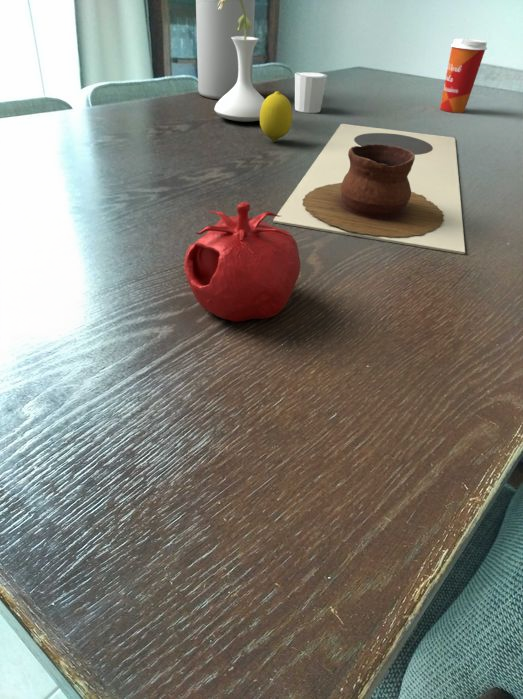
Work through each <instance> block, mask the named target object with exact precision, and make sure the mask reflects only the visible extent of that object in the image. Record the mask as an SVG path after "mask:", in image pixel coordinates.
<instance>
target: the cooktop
mask: <svg viewBox="0 0 523 699" xmlns="http://www.w3.org/2000/svg"><path fill="white" fill-rule="evenodd" d="M366 144H369V145H374V144H378V145H388V146H392V147H393V146H399V147H401V148H403V149H408V150H409V151H411V152H412V153H413V154H414V155H415V159H414V163H413V165H412V168H411V171H410V172H409V174H408V176H407V177H408V181H409V184H410V188H411V192H414V193H416V194H419V195H423V196H424V197H426V200H427V201H431V202H432V203H434V205H436V206H437V207H438V208H439V209H440V210H441V211H443V213H442V214H443V215H444V216H443V219H444V221H443V222H442V224H441V225H440V226H439V227H437V228H435V229H434V230H431V231H428V232H425V234H424V235H412V236H407V237H401V236H400V237H393V236H392V237H388V236H383V235H370V234H365V233H363V234H360V233H357V232H352V231H347V230H344V229H342V228H339V227H337V226H334V225H328V224H327V223H326V222H324V221H322V220H321V219H318V218H316V216H312V215H311V213H310V212H309V210H305V208H306V206H305V205H303V199H304V198H305V195H306V194H308V193H309V192H311V191H313V190H314V189H315V188H318V187H322V186H325V185H328V184H331V185H332V184H337V183H342V182H343V179H344V177H345V175H346V174H347V173H348V171H349V168H350V160H349V156H348V151H349V149H350V148H351V147H355V146H360V147H361V146H364V145H366ZM459 179H460V178H459V167H458V156H457V145H456V137H454V136H452V137H451V136H443V135H435V134H429V133H428V134H427V133H422V132H421V133H419V132H412V131H403V130H396V129H387V128H379V127H373V126H363V125H354V124H347V123H340V125H339V126H338V128H337V129H336V130H335V132H334V133H333V135H332V136H331V137H330V139H329V140H328V141H327V143H326V145H325V146H324V147H323V149H321V151H320V153H319V155H318V156H317V157H316V159H315V160H314V161H313V163H312V165H310V167H309V169H308V170H307V172H306V173H305V175H304V176H303V177H302V179H301V180H300V181H299V183H298V184H297V186H296V187H295V189H294V190H293V191H292V193H291V194H290V195H289V197H288V198H287V200H286V201H285V203H284V204H283V205H282V206H281V208H280V210H279V211H278V212H277V214H276V215H279V216H280V217H278V216H274V218H273V220H272V223H274V224H278V225H285V226H289V227H290V226H291V227H297V228H302V229H308V230H314V231H315V230H316V231H321V232H325V233H326V232H327V233H334V234H338V235H345V236H349V237H350V236H351V237H357V238H363V239H368V240H369V239H370V240H376V241H381V242H387V243H393V244H399V245H405V246H411V247H417V248H423V249H430V250H434V251H435V250H436V251H441V252H447V253H454V254H458V255H465V254H466V246H465V236H464V234H465V233H464V223H463V213H462V212H463V211H462V201H461V190H460V189H461V188H460V180H459Z"/></svg>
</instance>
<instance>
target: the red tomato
mask: <svg viewBox="0 0 523 699" xmlns="http://www.w3.org/2000/svg"><path fill="white" fill-rule="evenodd" d="M250 210H251V205H250V203H249V201H243V202H240V203H238V204H237V206H236V212H237V214H238V215H233V216H228V215H227V214H225V212H223V211H217V210H215V211H211V210H209V211H208V213H210V214H217V216H219V217H220V218H221V219H220V220H218V222H217V223H216V224H214V225H211V224H210V225H207V226H205V227H204V228H203V229H202V230H200V231H198V232H195V234H197V235H199V236H200V235H202V234H204V233H205V234H204V235H202V236H201V237H199V238H198V239H196V241H195V242H194V243H192V244H191V245H189V246H188V248H187V249H186V252H185V256H184V260H183V261H184V262H183V269H184V274H185V277H186V282H187V283H188V285H189V288H190V290H191V292H192V294H193V296H194V297H195V299H196V301H197V303H198V304H199V305H200V306H201V307H202V308H203V309H204V310H205V311H206V312H208V313H210V314H212V315H214V316H216V317H218V318H220V319H223V320H228V321H231V322H235V323H236V322H246V321H249V320H254V319H259V320H260V319H261V320H264V319H270V318H272V317H274V316H276V315H278V314H279V313H280V312H281V311H282V310H283V309H284V308H285V307H286V305H287V303H288V302H289V300H290V298H291V296H292V294H293V292H294V289H295V287H296V283H297V282H298V279H299V276H300V273H301V258H300V251H299V247H298V244H297V241H296V239H295V238H294V236H293V235H292V233H290V232H289V231H287V230H284V229H283V228H279V227H276V226H273V225H271V224H269V223H267V222H266V221H265V222H264V221H263V220H265V218H266V217H267V216H269V217H276V216H278V217H280V216H279V215H277V214H276V213H274V212H272V211H269V210H267V211H265V212H263V213H260V214H258V215H256V216H254V217H250V216H249V212H250Z"/></svg>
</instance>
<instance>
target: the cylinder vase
mask: <svg viewBox="0 0 523 699" xmlns="http://www.w3.org/2000/svg"><path fill="white" fill-rule="evenodd" d="M219 2H220V0H195V15H196V16H195V18H196V19H195V20H196V21H195V22H196V23H195V24H196V57H197V58H196V59H197V60H196V61H197V63H196V64H197V91H198V94H199V95H200V96H202V97H204V98H207V99H212V100H217V101H219V100H220V99H221V98H222V97H223V96H224V95H225V94H227V93H228V92H229V91H230V90H231V89H232V88H233V87H234V86H235V85H236V83H237V80H238V71H239V69H238V55H237V49H236V46H235V44H234V42H233V40H232V38H231V37H236V36H243V37H244V29H243V28H241V30H240V31H239V32H237V29H238V27H239V23H238V20H239V18H240V17H241V16H242V15H243V10H242V6H241V3H240V0H227V1H226V3H225V5H224V6H223V8H222V9H221V10H220V9H219V10H218V8H219V7H220V5H221V4H220V5H219V6H218V4H219ZM242 2H243V6H244V9H245V14H246V16H247V18H248V20H249V21H250V23H251V25H252V27H251V28H250V29H248V30H246V37H254V38H255V36H254V34H255V8H256V0H242ZM253 64H254V52H253V53H252V57H251V65H250V79H251V83H252V84H253V70H254V69H253V67H254V65H253Z"/></svg>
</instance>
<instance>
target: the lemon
mask: <svg viewBox="0 0 523 699" xmlns="http://www.w3.org/2000/svg"><path fill="white" fill-rule="evenodd" d="M264 99H265V100H264V102H263V104H262V107H261V110H260V120H259V126H260V128H261V131H262V132H263V134H264V135H265V136H266V137H268V138H269V139H270V140H271V141H272V142H273V143H276V142H277V141H278V140H279V139H281V138H283V137H285V136H286V135H287V134H288V133H289V131H290V129H291V126H292V122H293V111H292V105H291V102H290V100H289V99H288V97H286V95H284V94H282V93H281V92H280V91H278V90H277V91H274V92H273V93H271V94H269V95H268V96H267V97H266V98H264Z"/></svg>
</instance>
